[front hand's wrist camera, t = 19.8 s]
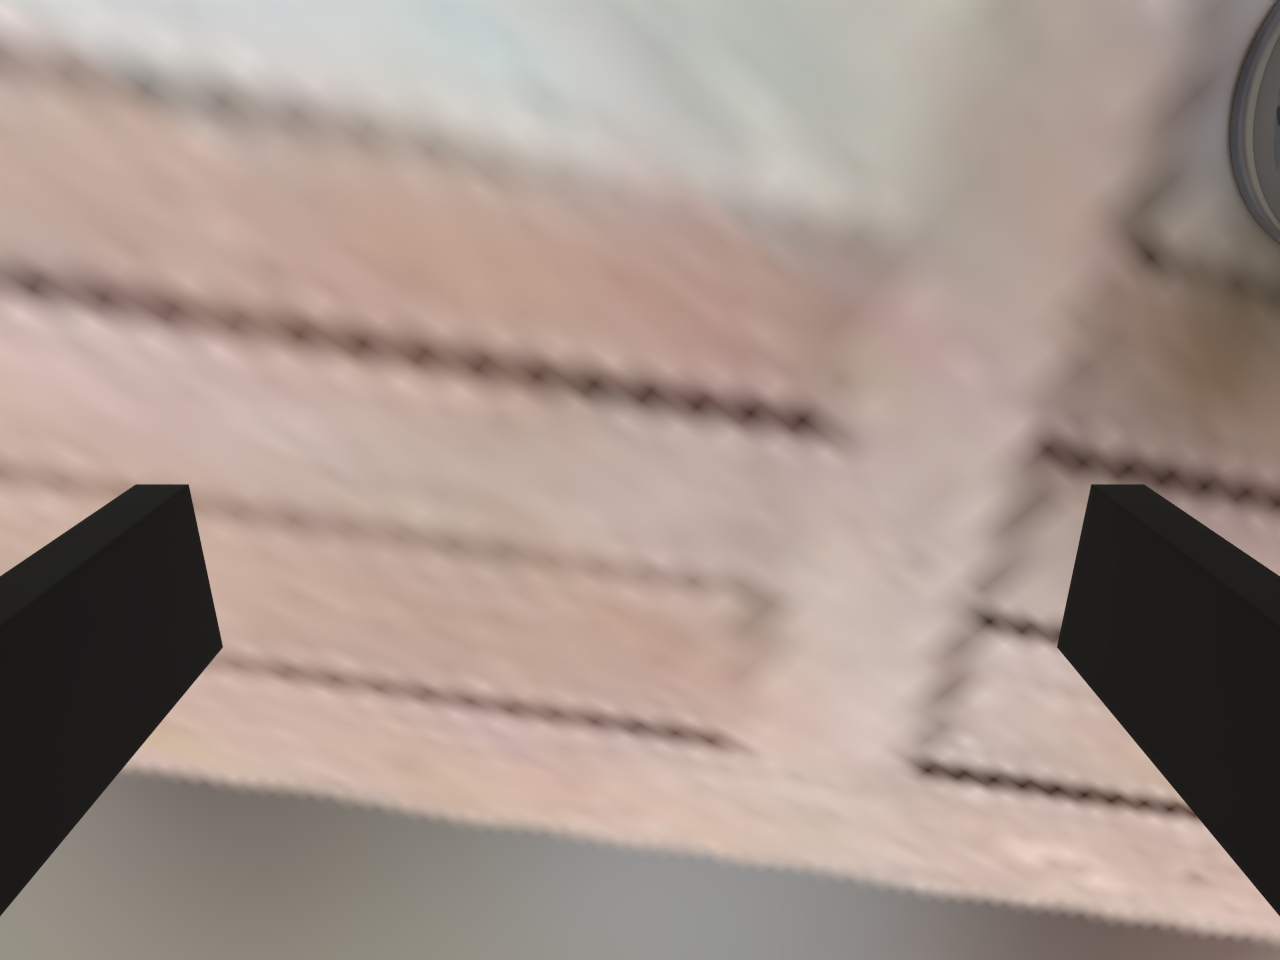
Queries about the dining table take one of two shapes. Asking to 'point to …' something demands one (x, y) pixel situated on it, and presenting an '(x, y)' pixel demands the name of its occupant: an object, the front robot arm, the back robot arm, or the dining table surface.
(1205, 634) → the front robot arm
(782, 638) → the dining table surface
